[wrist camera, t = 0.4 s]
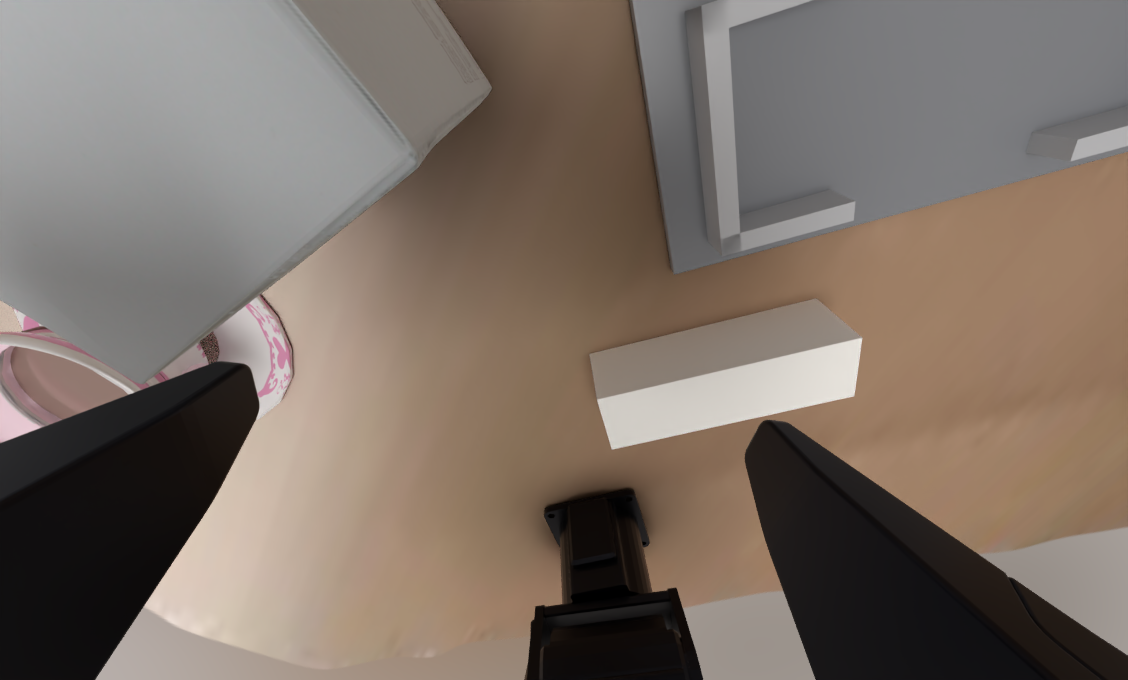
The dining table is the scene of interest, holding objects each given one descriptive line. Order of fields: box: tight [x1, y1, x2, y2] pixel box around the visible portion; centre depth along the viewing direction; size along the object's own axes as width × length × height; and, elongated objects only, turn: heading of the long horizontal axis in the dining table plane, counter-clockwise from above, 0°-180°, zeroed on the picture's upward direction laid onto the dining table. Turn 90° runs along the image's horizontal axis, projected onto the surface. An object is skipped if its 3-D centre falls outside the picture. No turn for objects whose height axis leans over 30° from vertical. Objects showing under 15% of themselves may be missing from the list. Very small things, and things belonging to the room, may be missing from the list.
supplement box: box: [0, 0, 492, 384], centre depth 11 cm, size 7×7×13 cm
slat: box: [589, 298, 862, 449], centre depth 22 cm, size 4×12×4 cm, turn 105°
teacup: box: [0, 295, 293, 443], centre depth 19 cm, size 12×12×6 cm
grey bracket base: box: [629, 0, 1128, 275], centre depth 16 cm, size 11×22×2 cm, turn 106°
